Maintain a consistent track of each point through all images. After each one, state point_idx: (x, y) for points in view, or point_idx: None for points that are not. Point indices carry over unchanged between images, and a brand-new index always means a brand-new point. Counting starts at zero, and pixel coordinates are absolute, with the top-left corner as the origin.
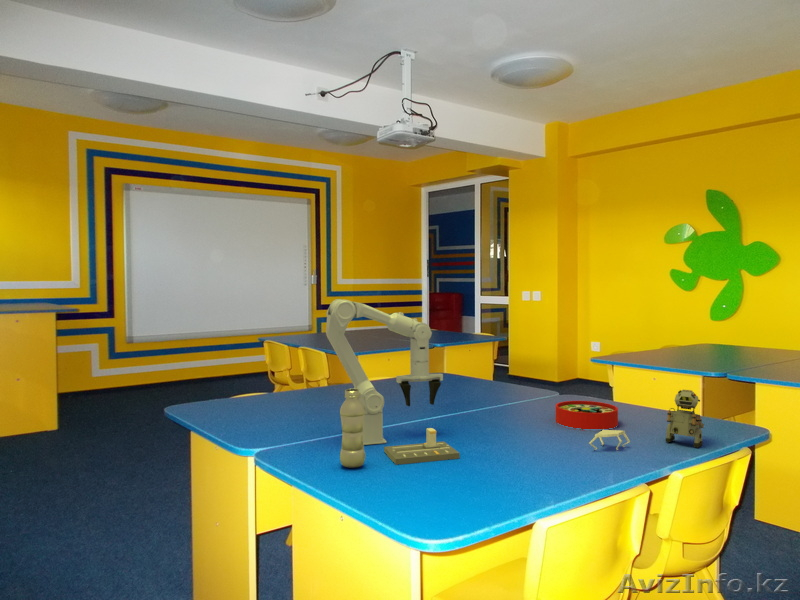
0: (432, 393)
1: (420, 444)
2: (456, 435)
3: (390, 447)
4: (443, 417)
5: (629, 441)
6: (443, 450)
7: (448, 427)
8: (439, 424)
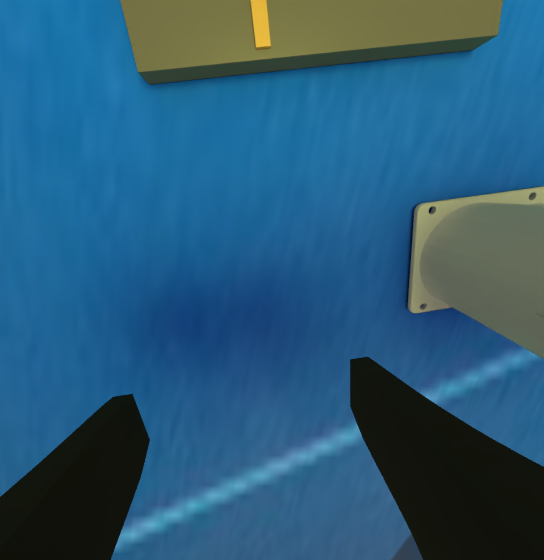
0: (40, 533)
1: (293, 29)
2: (70, 287)
3: (472, 6)
4: None
5: None
6: None
7: None
8: None
